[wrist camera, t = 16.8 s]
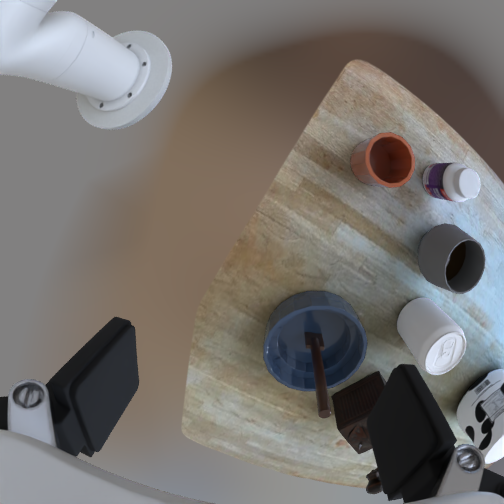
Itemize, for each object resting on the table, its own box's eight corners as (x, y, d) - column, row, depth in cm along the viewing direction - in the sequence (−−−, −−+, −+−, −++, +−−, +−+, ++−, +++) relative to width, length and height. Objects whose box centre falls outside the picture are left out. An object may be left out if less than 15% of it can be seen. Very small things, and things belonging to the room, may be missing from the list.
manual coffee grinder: (326, 396, 48) (337, 472, 31) (379, 369, 46) (408, 440, 28) (357, 434, 50) (369, 499, 33) (402, 411, 48) (426, 474, 30)
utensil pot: (340, 156, 38) (354, 150, 30) (375, 132, 36) (395, 122, 29) (366, 194, 39) (384, 198, 31) (400, 170, 37) (424, 168, 30)
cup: (412, 283, 41) (439, 309, 32) (404, 227, 39) (435, 241, 30) (457, 268, 40) (489, 288, 30) (452, 214, 38) (488, 224, 28)
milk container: (483, 415, 47) (509, 458, 30) (440, 421, 48) (465, 473, 31) (515, 362, 43) (552, 402, 25) (475, 363, 44) (515, 413, 26)
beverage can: (391, 340, 44) (415, 381, 32) (399, 297, 42) (429, 332, 30) (430, 335, 43) (459, 372, 31) (439, 294, 41) (475, 325, 29)
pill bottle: (418, 193, 38) (451, 198, 28) (424, 159, 36) (457, 156, 27) (445, 201, 37) (480, 209, 28) (451, 169, 36) (486, 169, 27)
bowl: (247, 322, 46) (242, 341, 40) (328, 270, 42) (334, 284, 36) (298, 382, 48) (299, 404, 42) (373, 339, 44) (382, 359, 38)
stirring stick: (303, 336, 45) (310, 417, 27) (305, 329, 44) (314, 409, 27) (320, 339, 44) (334, 418, 27) (322, 331, 44) (338, 410, 27)
